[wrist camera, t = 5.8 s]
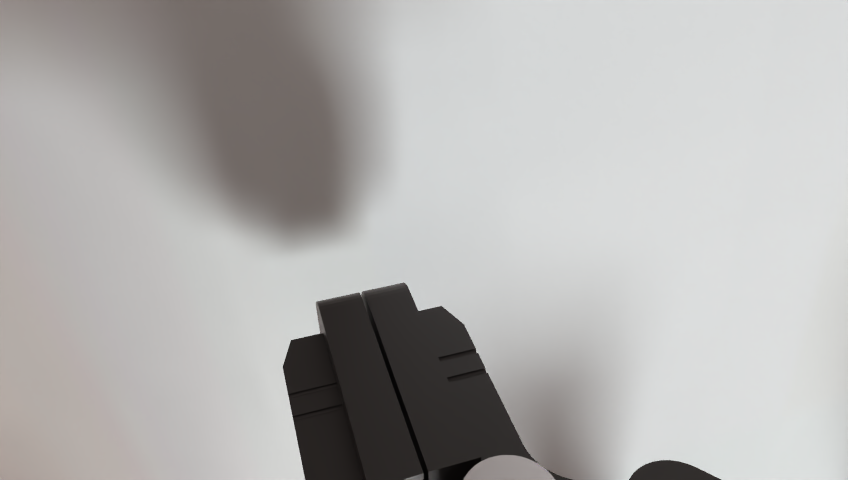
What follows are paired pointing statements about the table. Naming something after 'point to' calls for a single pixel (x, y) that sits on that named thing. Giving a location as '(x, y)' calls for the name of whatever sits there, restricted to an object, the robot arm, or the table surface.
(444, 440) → the robot arm
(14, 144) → the table surface
